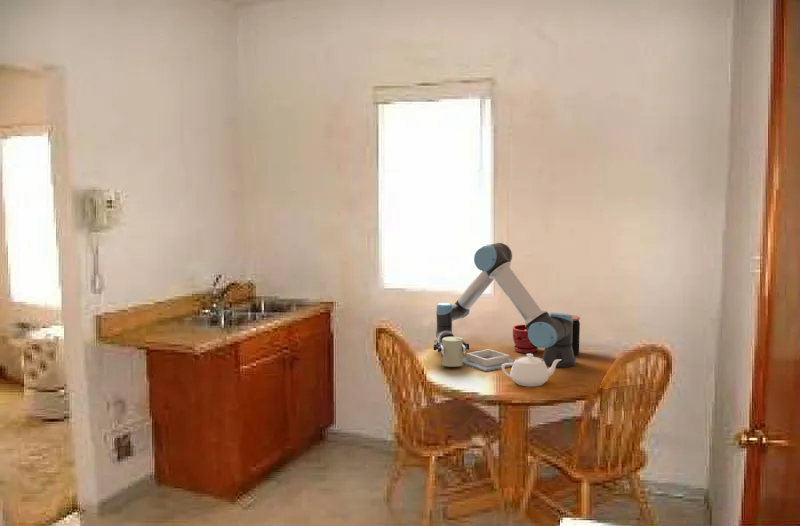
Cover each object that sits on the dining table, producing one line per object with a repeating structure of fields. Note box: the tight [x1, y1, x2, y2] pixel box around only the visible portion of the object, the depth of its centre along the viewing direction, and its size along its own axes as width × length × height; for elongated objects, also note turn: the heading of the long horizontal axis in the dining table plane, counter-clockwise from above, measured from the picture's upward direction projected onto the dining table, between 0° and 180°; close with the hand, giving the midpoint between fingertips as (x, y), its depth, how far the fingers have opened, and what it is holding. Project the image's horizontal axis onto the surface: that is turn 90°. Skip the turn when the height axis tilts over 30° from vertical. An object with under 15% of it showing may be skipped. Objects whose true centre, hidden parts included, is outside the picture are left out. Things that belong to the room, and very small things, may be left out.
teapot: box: [501, 353, 562, 387], centre depth 269 cm, size 25×16×12 cm, turn 93°
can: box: [441, 336, 464, 368], centre depth 293 cm, size 9×9×12 cm
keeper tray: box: [462, 348, 516, 373], centre depth 301 cm, size 22×22×4 cm
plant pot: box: [512, 324, 539, 354], centre depth 322 cm, size 13×13×12 cm
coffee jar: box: [570, 314, 581, 356], centre depth 316 cm, size 11×11×18 cm
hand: (453, 351), depth 289 cm, fingers closed on can, 9 cm apart
